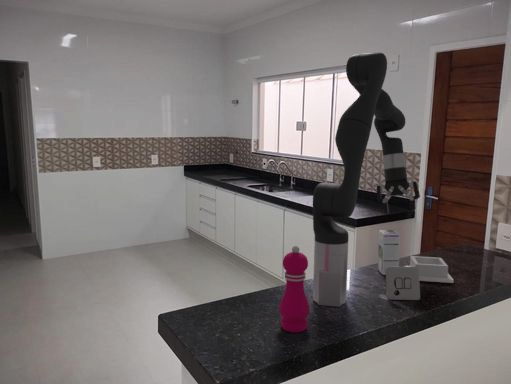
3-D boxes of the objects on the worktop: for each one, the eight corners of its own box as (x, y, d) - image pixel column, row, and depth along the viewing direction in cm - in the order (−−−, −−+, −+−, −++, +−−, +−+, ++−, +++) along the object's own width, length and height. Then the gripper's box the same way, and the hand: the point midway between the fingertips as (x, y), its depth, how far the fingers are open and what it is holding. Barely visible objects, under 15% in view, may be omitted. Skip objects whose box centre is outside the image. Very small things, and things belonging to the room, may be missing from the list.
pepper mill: (272, 326, 101) (274, 245, 98) (292, 317, 106) (293, 240, 103) (295, 336, 96) (297, 251, 93) (315, 326, 101) (317, 246, 98)
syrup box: (398, 275, 140) (401, 233, 139) (381, 275, 140) (383, 233, 139) (393, 270, 146) (395, 229, 144) (376, 269, 146) (378, 229, 144)
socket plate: (453, 283, 133) (454, 267, 132) (410, 280, 136) (411, 265, 135) (443, 270, 146) (444, 256, 145) (404, 268, 148) (405, 254, 148)
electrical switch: (387, 300, 118) (387, 268, 118) (382, 295, 123) (382, 264, 123) (420, 301, 118) (421, 268, 118) (414, 296, 123) (414, 265, 123)
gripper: (372, 169, 149) (377, 214, 148) (414, 164, 142) (419, 211, 141) (377, 170, 156) (381, 213, 155) (417, 165, 149) (422, 210, 148)
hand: (399, 212), depth 148 cm, fingers open, 8 cm apart
